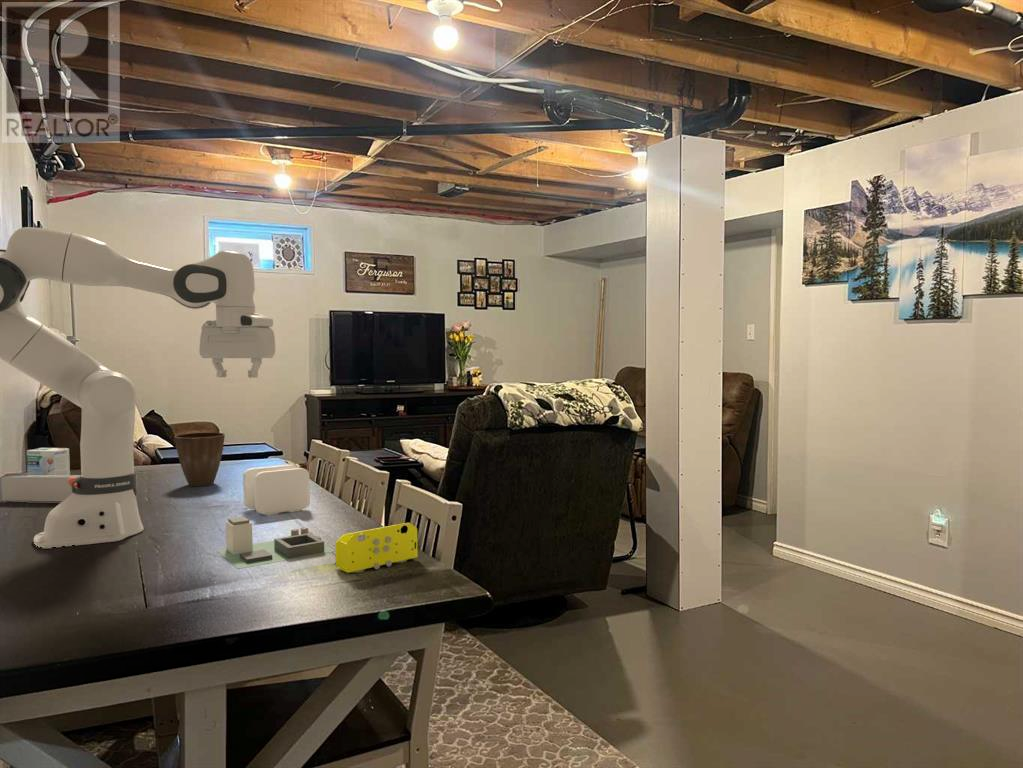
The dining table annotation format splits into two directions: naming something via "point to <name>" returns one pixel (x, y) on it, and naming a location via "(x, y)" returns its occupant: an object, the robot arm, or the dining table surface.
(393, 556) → the yellow toy chassis
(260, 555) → the board
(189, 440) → the plant pot
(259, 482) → the cable organizer
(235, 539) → the plug
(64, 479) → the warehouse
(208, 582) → the dining table surface
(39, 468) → the light bulb box
